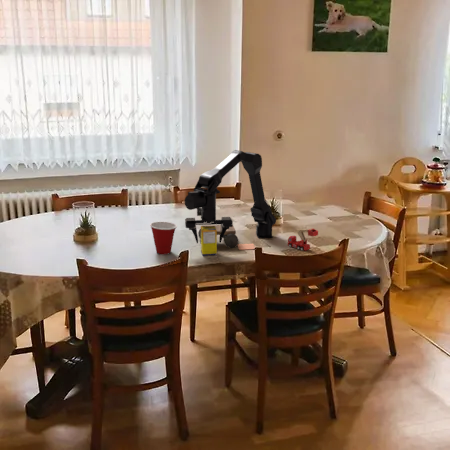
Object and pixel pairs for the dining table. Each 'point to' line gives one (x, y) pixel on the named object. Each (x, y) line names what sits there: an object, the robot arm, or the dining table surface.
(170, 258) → the dining table surface
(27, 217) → the dining table surface
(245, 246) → the thin pink plate
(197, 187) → the robot arm
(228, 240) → the wooden toy car
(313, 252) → the dining table surface
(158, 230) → the plastic cup
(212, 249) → the supplement box
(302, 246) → the toy fire truck
